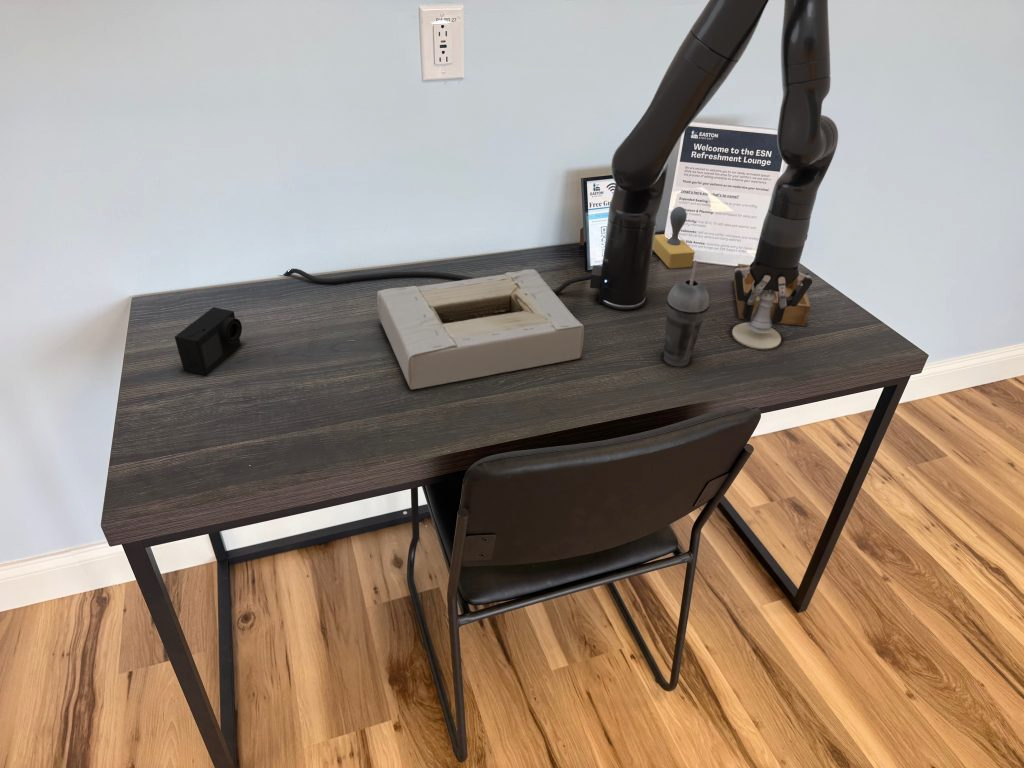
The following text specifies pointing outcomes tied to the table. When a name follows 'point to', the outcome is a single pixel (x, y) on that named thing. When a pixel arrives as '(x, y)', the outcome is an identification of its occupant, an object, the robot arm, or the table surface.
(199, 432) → the table surface
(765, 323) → the rook chess piece
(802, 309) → the wooden tray
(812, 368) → the table surface
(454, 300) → the box
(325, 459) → the table surface
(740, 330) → the coaster
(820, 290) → the table surface
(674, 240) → the rubber stamp
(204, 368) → the digital camera
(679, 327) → the beverage cup
